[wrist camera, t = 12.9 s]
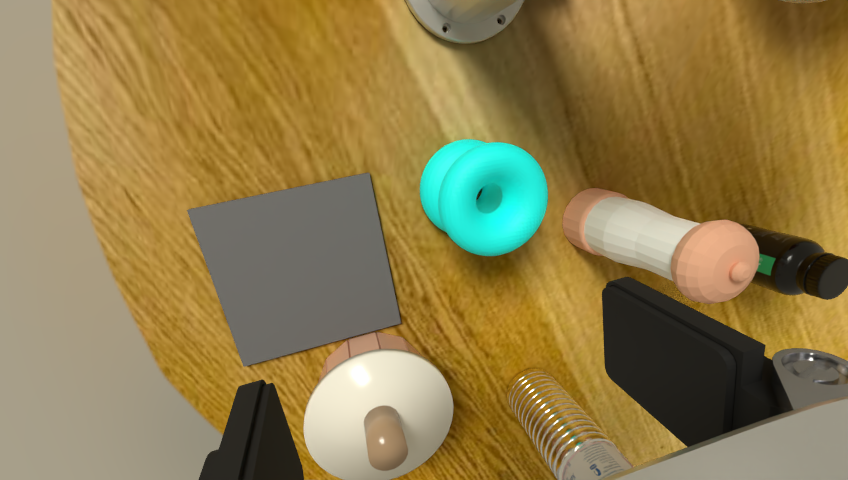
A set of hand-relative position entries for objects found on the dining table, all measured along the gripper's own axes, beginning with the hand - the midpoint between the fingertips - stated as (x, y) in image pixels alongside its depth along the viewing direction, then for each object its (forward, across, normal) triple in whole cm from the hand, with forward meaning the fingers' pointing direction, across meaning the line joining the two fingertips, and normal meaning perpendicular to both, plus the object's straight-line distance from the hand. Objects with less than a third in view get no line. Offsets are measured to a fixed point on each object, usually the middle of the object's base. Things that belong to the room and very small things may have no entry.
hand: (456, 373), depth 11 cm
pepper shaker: (+32, -26, +9) cm, 43 cm away
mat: (+32, +7, +7) cm, 34 cm away
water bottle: (+32, -16, +30) cm, 47 cm away
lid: (+26, +3, +22) cm, 34 cm away
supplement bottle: (+32, -47, +18) cm, 60 cm away
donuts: (+33, -11, +2) cm, 34 cm away
